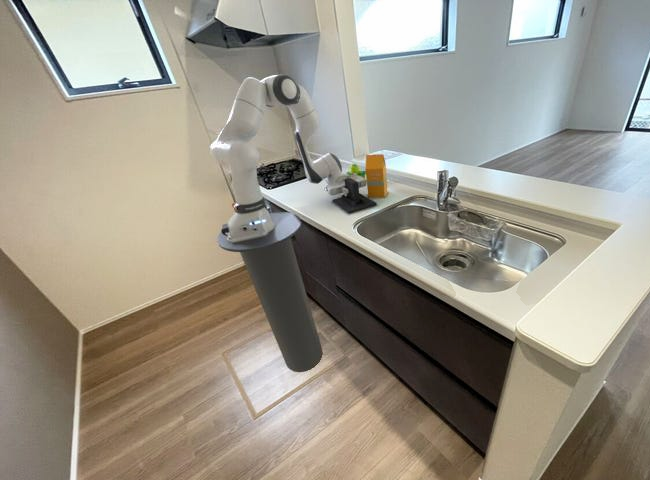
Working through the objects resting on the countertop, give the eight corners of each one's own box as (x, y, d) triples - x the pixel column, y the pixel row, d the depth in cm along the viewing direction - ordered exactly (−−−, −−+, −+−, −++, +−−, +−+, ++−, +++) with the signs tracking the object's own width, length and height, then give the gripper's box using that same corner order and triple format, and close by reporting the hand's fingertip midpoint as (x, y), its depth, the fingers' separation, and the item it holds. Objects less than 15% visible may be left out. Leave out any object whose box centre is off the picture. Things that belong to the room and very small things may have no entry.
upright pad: (355, 204, 143) (352, 183, 138) (347, 198, 150) (344, 179, 144) (360, 202, 144) (358, 181, 139) (352, 197, 151) (349, 177, 145)
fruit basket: (367, 179, 178) (365, 159, 171) (365, 184, 170) (362, 164, 164) (348, 180, 180) (346, 160, 173) (345, 185, 172) (342, 165, 166)
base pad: (349, 214, 138) (348, 207, 136) (332, 201, 153) (331, 195, 151) (376, 205, 143) (376, 199, 141) (358, 194, 158) (357, 188, 156)
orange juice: (384, 197, 151) (382, 156, 139) (368, 197, 153) (363, 157, 141) (387, 192, 157) (385, 152, 145) (371, 192, 159) (367, 152, 147)
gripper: (321, 182, 148) (332, 189, 138) (357, 172, 155) (370, 178, 145) (324, 194, 152) (334, 202, 142) (359, 184, 159) (371, 191, 149)
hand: (353, 190), depth 143 cm, fingers closed on upright pad, 3 cm apart
